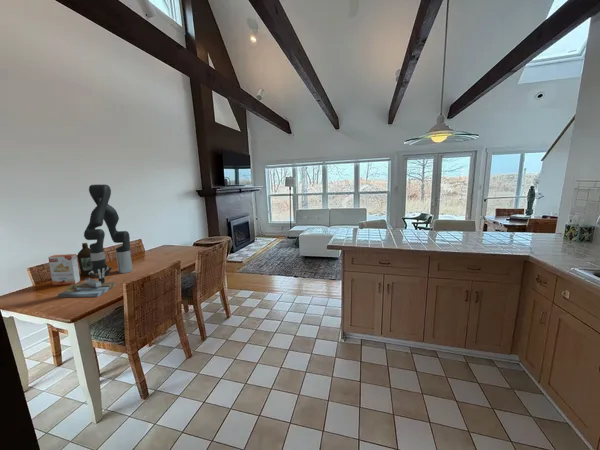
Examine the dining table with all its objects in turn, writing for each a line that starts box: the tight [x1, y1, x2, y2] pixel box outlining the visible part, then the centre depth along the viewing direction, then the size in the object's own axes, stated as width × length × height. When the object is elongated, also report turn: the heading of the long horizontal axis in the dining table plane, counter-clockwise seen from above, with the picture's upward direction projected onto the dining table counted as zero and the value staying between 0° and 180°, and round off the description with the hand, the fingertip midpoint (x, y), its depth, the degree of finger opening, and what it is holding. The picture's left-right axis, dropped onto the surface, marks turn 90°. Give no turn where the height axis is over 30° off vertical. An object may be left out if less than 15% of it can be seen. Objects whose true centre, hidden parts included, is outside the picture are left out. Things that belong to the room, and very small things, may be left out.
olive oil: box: [76, 242, 97, 277], centre depth 198 cm, size 11×11×25 cm
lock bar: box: [84, 277, 101, 287], centre depth 170 cm, size 14×3×4 cm, turn 65°
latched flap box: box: [57, 281, 117, 298], centre depth 167 cm, size 17×24×6 cm
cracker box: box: [47, 253, 81, 286], centre depth 179 cm, size 14×6×21 cm, turn 101°
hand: (102, 282), depth 172 cm, fingers closed
